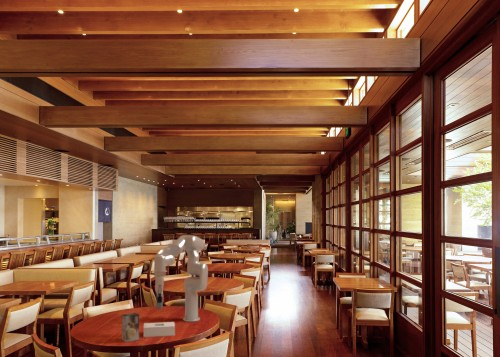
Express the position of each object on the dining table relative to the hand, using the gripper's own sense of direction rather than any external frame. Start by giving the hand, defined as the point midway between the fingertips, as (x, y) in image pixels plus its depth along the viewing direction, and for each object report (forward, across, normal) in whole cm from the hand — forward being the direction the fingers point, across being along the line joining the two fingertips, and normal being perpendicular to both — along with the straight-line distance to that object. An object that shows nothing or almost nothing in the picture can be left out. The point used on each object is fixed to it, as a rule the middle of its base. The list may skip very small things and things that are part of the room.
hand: (159, 301), depth 318 cm
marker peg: (+4, 0, 0) cm, 4 cm away
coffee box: (+21, +11, -18) cm, 30 cm away
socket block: (+21, 0, 0) cm, 21 cm away
